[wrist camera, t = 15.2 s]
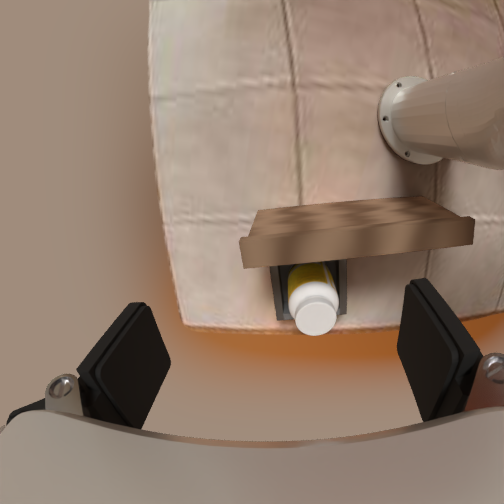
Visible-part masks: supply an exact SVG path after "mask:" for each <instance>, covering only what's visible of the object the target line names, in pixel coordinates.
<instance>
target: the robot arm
mask: <svg viewBox="0 0 504 504" xmlns="http://www.w3.org/2000/svg"><path fill="white" fill-rule="evenodd" d="M396 84H397V85H398V87H397V86H396ZM383 117H384V118H385V121H383ZM378 122H379V126H380V129H381V132H382V134H383V137H384V139H385V140H386V142H387V143H388V145H389V146H390V147H391V149H392V150H393V151H394V152H395V153H396V154H398V155H399V156H400V157H401V158H403V159H405V160H407V161H409V162H412V163H416V164H421V165H427V164H432V163H436V162H438V161H440V160H442V159H443V158H447V159H452V160H456V161H460V162H465V163H469V164H473V165H477V166H481V167H485V168H489V169H495V170H503V169H504V56H503V57H501V58H498V59H496V60H493V61H490V62H487V63H484V64H481V65H478V66H474V67H471V68H467V69H464V70H461V71H457V72H453V73H450V74H447V75H444V76H441V77H437V78H434V79H431V80H427V79H424V78H422V77H417V76H406V77H402V78H399V79H397V80H395V81H393V82H392V83H390V84H389V85H388V86H387V87H386V89H385V90H384V91H383V93H382V95H381V97H380V101H379V104H378ZM405 152H406V155H405ZM397 351H398V355H399V357H400V360H401V362H402V365H403V367H404V370H405V373H406V375H407V378H408V381H409V383H410V386H411V389H412V391H413V394H414V397H415V400H416V402H417V406H418V408H419V411H420V414H421V418H422V420H423V422H422V423H418V424H414V425H410V426H405V427H400V428H396V429H390V430H384V431H379V432H373V433H367V434H361V435H354V436H346V437H338V438H330V439H329V438H328V439H317V440H301V441H274V442H273V441H272V442H271V441H270V442H269V441H267V442H266V441H265V442H264V441H263V442H262V441H261V442H260V441H258V442H257V441H230V440H215V439H203V438H194V437H185V436H177V435H170V434H163V433H157V432H151V431H146V430H141V428H142V426H143V424H144V422H145V420H146V418H147V415H148V413H149V411H150V409H151V407H152V405H153V402H154V400H155V398H156V396H157V394H158V392H159V390H160V387H161V385H162V383H163V381H164V379H165V377H166V375H167V372H168V370H169V368H170V365H171V360H170V357H169V354H168V352H167V349H166V347H165V344H164V342H163V340H162V337H161V334H160V332H159V329H158V327H157V324H156V321H155V319H154V316H153V313H152V311H151V308H150V307H149V306H147V305H146V304H145V303H144V302H136V303H135V302H134V303H130V304H128V306H127V307H126V308H125V309H124V310H123V312H122V313H121V314H120V315H119V316H118V317H117V319H116V320H115V321H114V322H113V324H112V325H111V326H110V327H109V329H108V330H107V331H106V332H105V333H104V335H103V336H102V337H101V338H100V340H99V341H98V342H97V343H96V345H95V346H94V347H93V348H92V350H91V351H90V352H89V354H88V355H87V356H86V358H85V359H84V360H83V361H82V363H81V364H80V365H79V367H78V368H77V372H78V373H79V375H80V377H79V378H78V379H77V377H76V376H75V375H72V374H63V375H60V376H58V377H56V378H54V379H53V380H52V381H51V382H50V383H49V384H48V386H47V388H46V392H45V398H44V399H42V400H40V401H37V402H34V403H32V404H29V405H27V406H24V407H22V408H19V409H17V410H15V411H13V412H12V413H11V414H10V415H9V418H8V420H7V425H6V427H5V425H4V426H2V427H1V428H0V504H504V354H501V353H490V354H488V355H485V356H483V355H482V353H481V352H480V349H479V347H478V346H477V344H476V343H475V341H474V340H473V338H472V337H471V336H470V334H469V333H468V331H467V330H466V328H465V327H464V326H463V324H462V323H461V322H460V320H459V319H458V318H457V316H456V315H455V313H454V312H453V311H452V310H451V308H450V307H449V306H448V304H447V303H446V302H445V300H444V299H443V298H442V297H441V295H440V294H439V293H438V292H437V290H436V289H435V288H434V287H433V285H432V284H431V283H430V282H429V281H428V279H426V278H422V279H415V280H411V281H410V284H409V285H406V287H405V295H404V303H403V310H402V317H401V324H400V330H399V336H398V342H397Z"/></svg>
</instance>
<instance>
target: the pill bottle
mask: <svg viewBox="0 0 504 504" xmlns="http://www.w3.org/2000/svg"><path fill="white" fill-rule="evenodd" d="M288 306H289V311H290V314H291V316H292V317H293V318H294V319H295V322H296V326H297V327H298V329H299V330H300V331H301V332H303V333H304V334H307V335H312V336H317V335H322V334H324V333H326V332H328V331H329V330H331V329H332V328H333V326H334V325H335V322H336V318H337V316H336V312H337V310H338V307H339V298H338V294H337V291H336V288H335V284H334V281H333V278H332V275H331V272H330V269H329V267H328V265H327V264H326V263H325V262H324V261H320V262H310V263H300V264H293V265H292V266H291V267H290V269H289V272H288Z"/></svg>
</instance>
